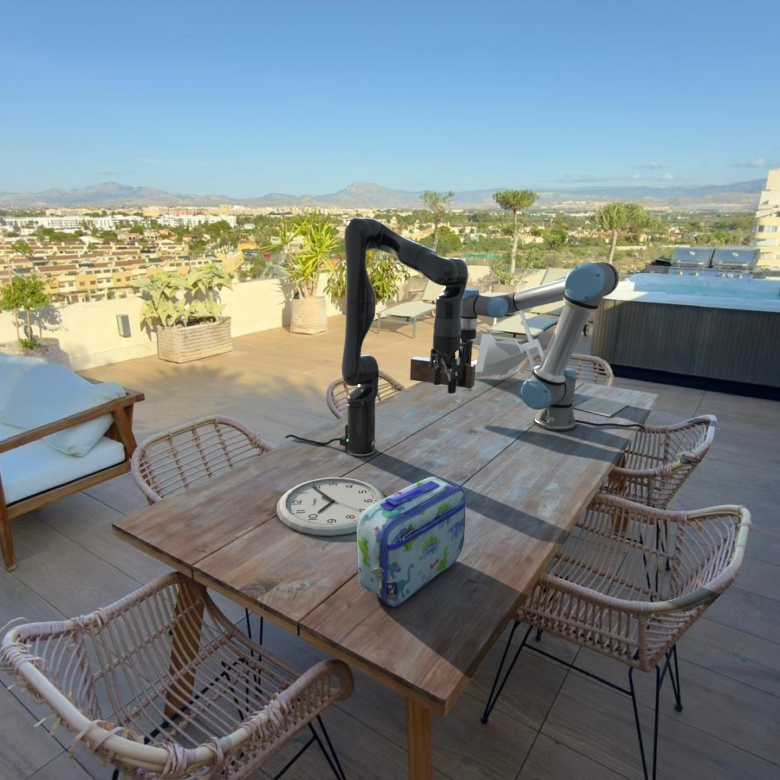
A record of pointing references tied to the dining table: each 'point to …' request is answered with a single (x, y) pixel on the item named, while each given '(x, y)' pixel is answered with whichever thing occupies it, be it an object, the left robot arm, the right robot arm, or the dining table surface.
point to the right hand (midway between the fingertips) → (463, 384)
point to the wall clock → (327, 505)
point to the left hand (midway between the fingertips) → (444, 388)
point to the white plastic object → (505, 353)
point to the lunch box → (410, 539)
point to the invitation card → (601, 406)
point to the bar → (425, 374)
